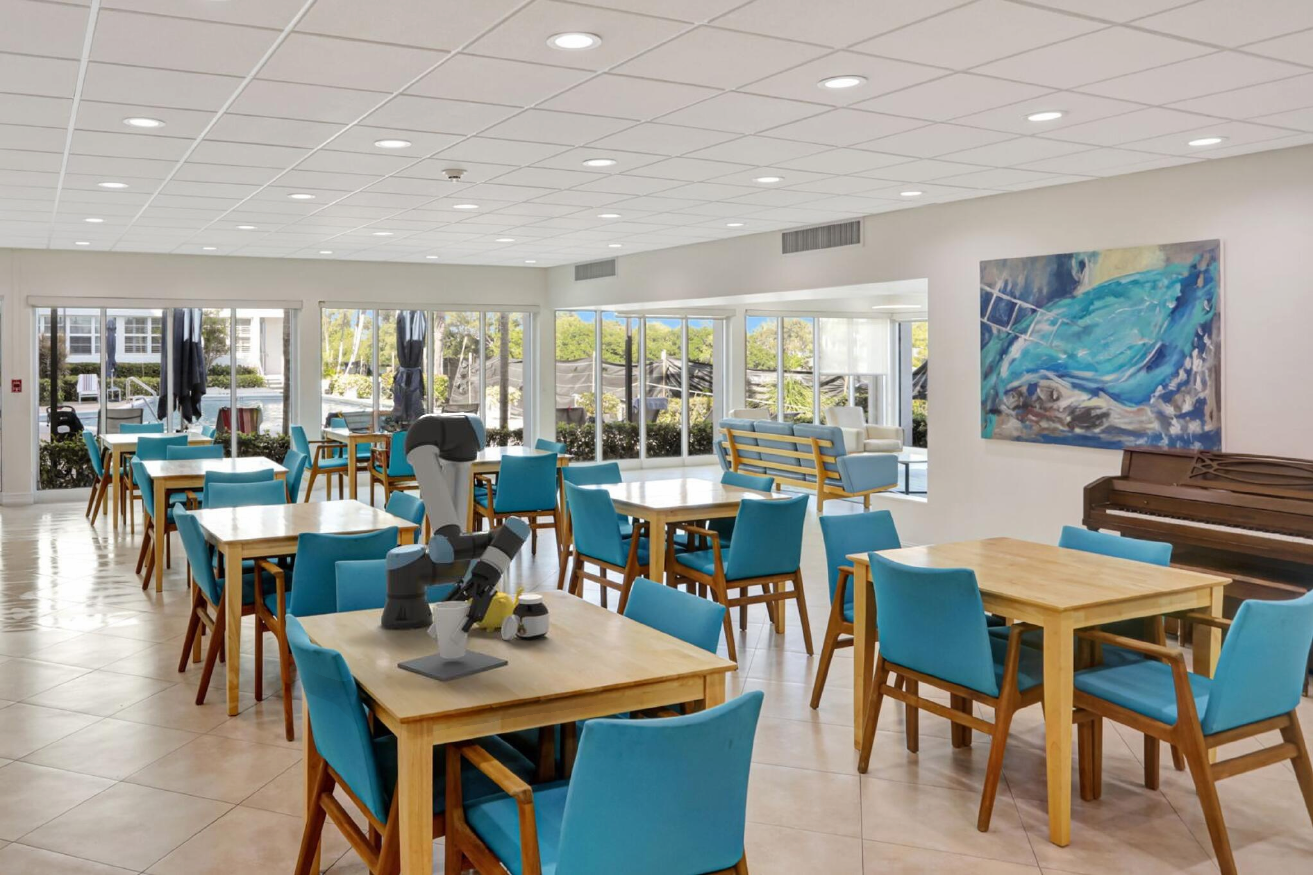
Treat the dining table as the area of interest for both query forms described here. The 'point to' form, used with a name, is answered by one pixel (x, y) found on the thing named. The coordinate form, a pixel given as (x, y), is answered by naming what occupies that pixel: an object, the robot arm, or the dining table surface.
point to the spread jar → (527, 619)
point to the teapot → (498, 610)
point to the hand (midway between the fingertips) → (442, 638)
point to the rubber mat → (452, 665)
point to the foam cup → (450, 627)
